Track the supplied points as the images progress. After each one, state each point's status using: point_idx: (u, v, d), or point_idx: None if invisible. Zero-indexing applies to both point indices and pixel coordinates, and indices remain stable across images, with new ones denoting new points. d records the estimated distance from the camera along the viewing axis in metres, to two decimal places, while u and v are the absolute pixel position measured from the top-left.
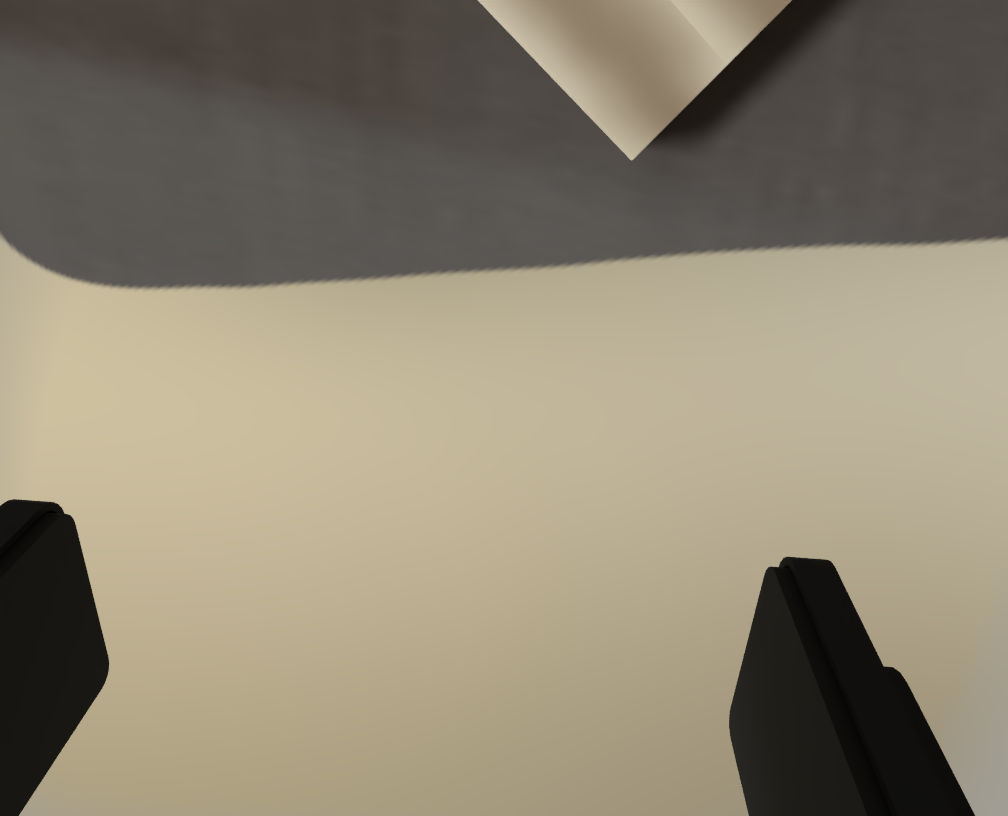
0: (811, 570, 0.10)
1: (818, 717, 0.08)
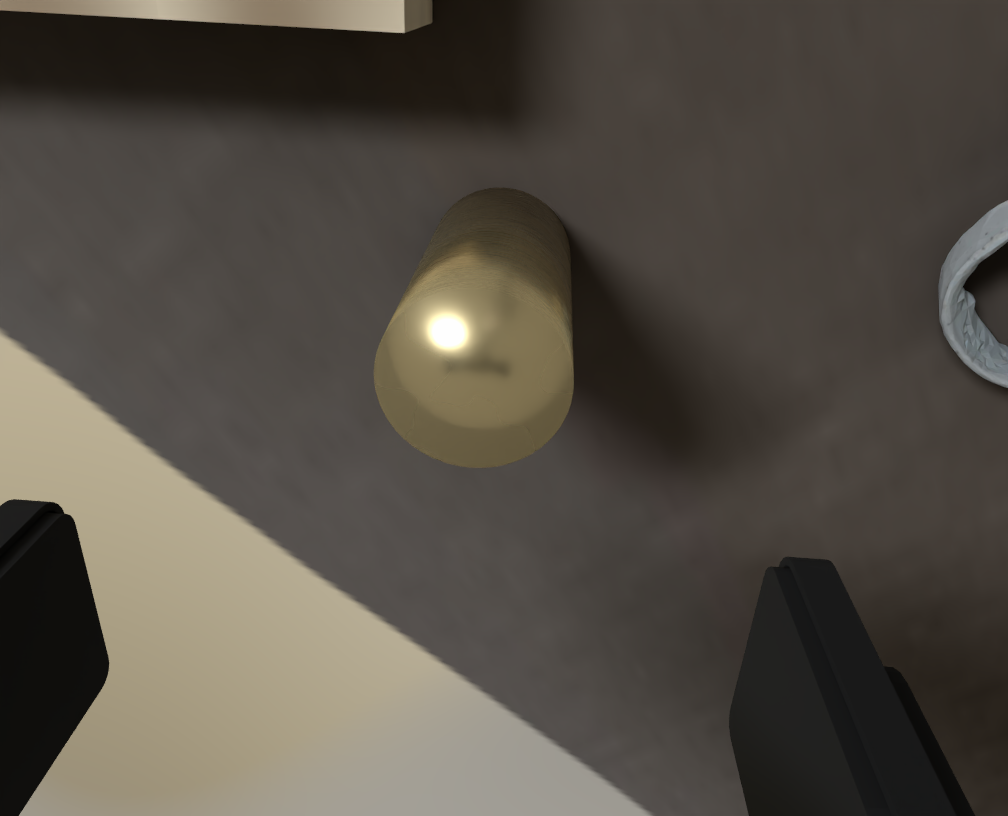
0: (811, 570, 0.10)
1: (818, 717, 0.08)
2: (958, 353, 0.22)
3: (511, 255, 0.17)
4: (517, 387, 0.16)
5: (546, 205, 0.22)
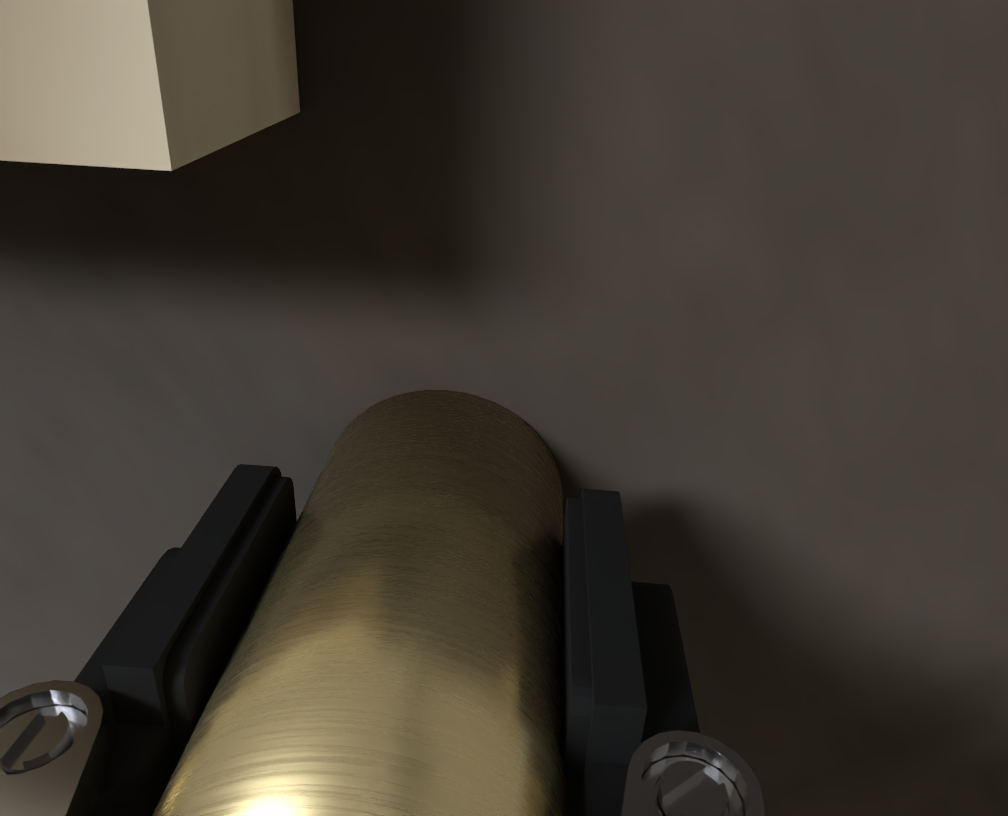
0: (597, 499, 0.11)
1: (568, 616, 0.09)
2: None
3: (425, 670, 0.07)
4: None
5: (520, 419, 0.13)
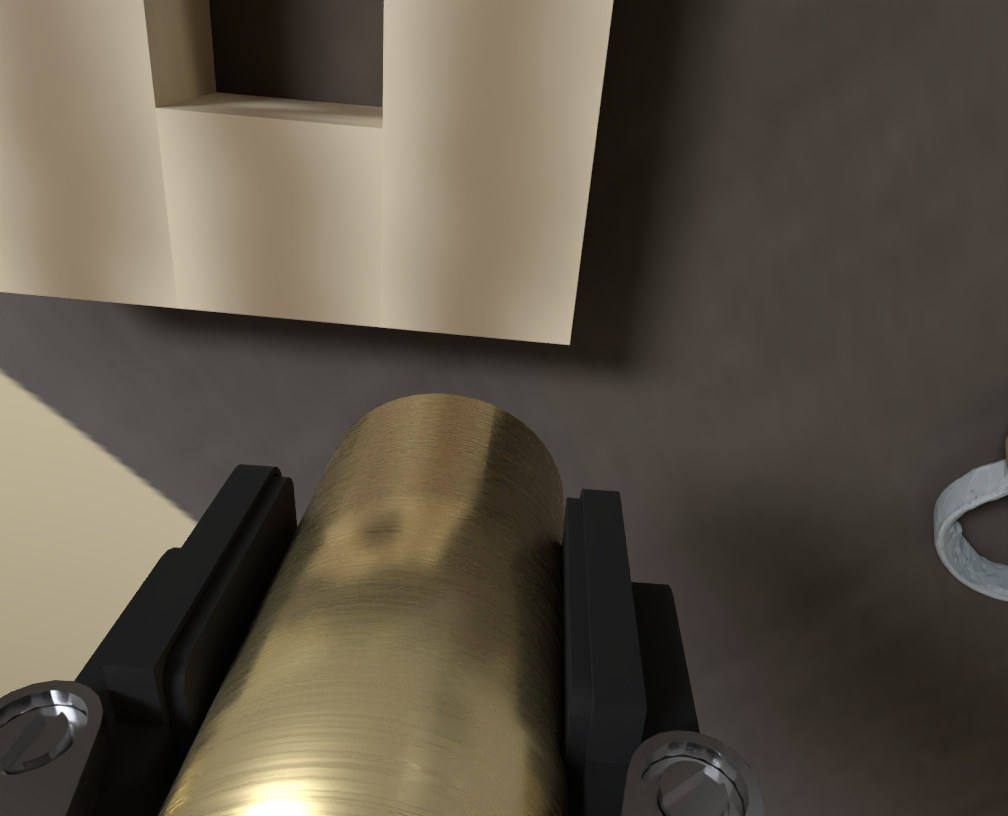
0: (598, 499, 0.11)
1: (568, 615, 0.09)
2: (948, 568, 0.28)
3: (429, 675, 0.07)
4: None
5: (521, 422, 0.13)
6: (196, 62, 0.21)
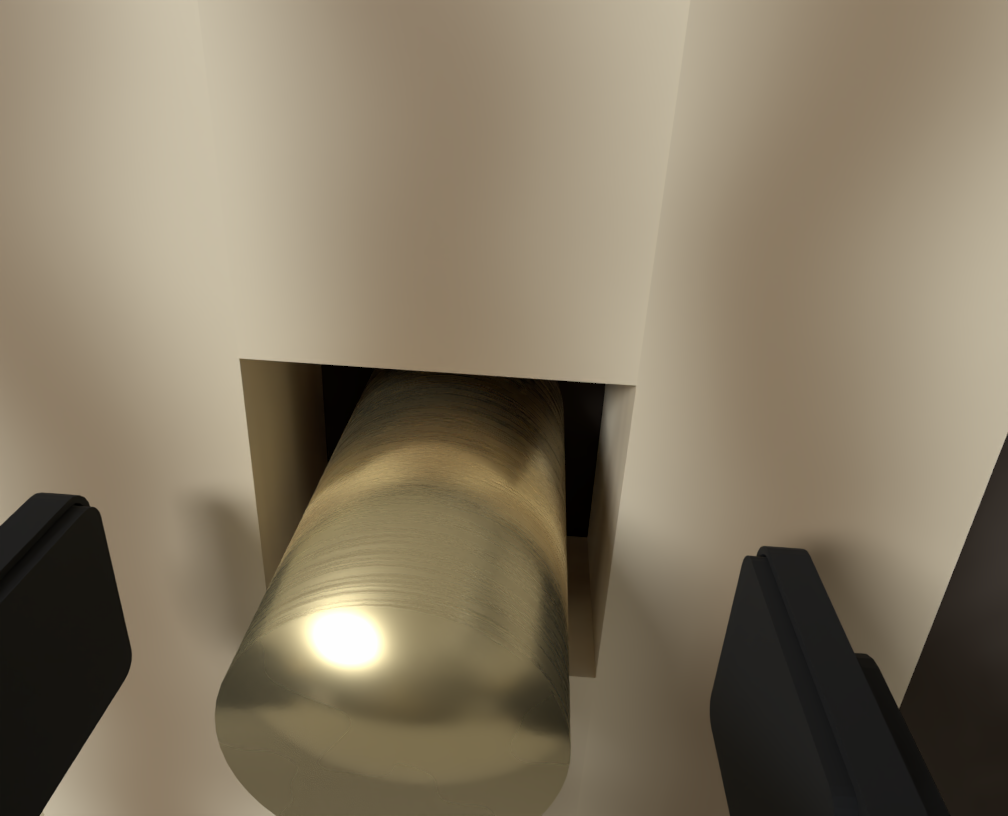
0: (787, 558, 0.10)
1: (789, 700, 0.08)
2: None
3: (464, 491, 0.10)
4: (470, 755, 0.09)
5: None
6: None
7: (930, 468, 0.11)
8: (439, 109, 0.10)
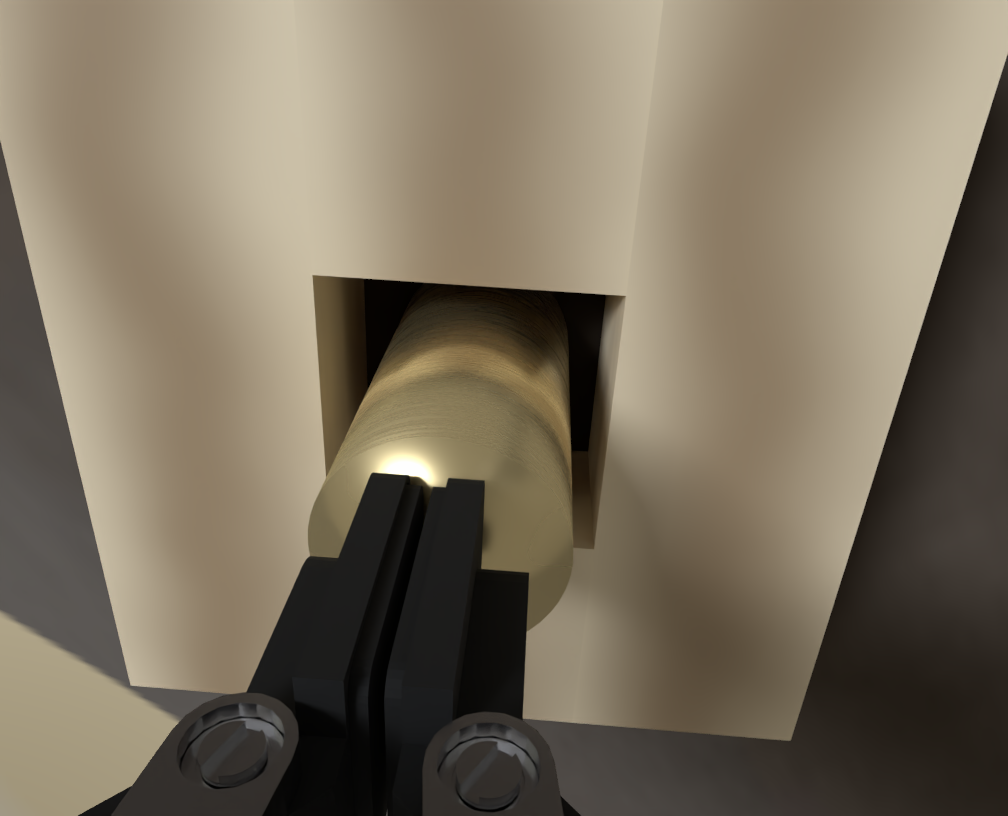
0: (460, 487, 0.11)
1: None
2: None
3: (491, 373, 0.13)
4: (498, 559, 0.12)
5: None
6: None
7: (859, 364, 0.14)
8: (474, 74, 0.12)
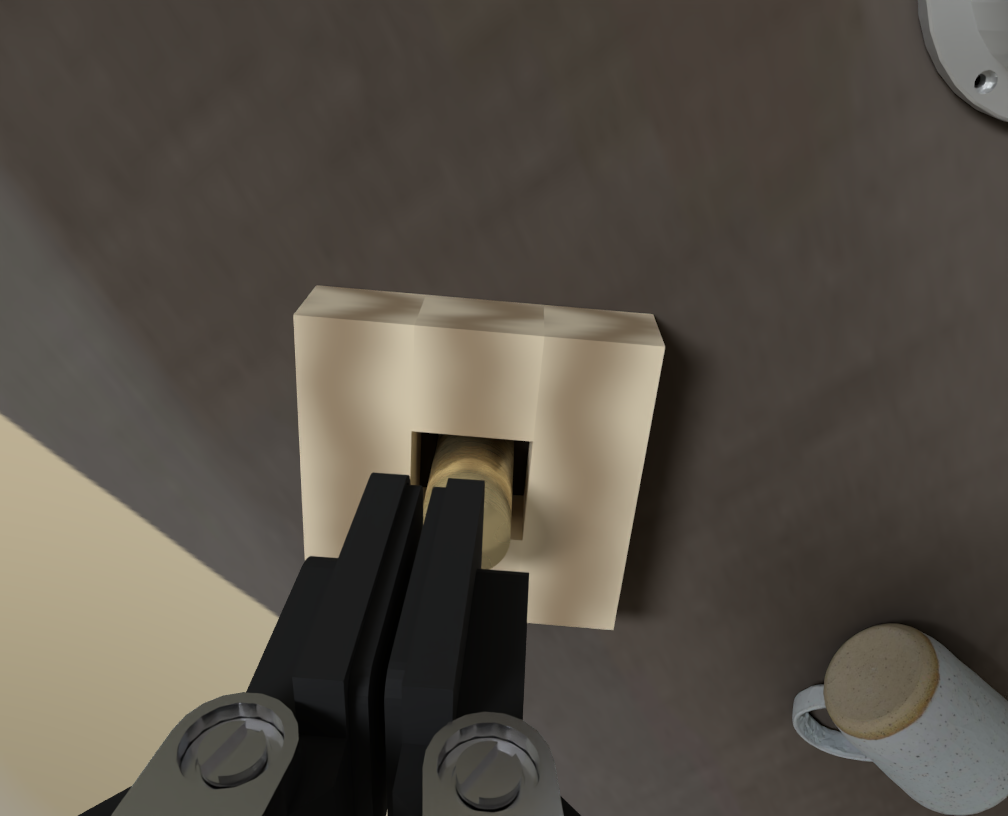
0: (460, 487, 0.11)
1: None
2: (802, 737, 0.48)
3: (481, 472, 0.35)
4: (484, 540, 0.34)
5: None
6: None
7: (624, 468, 0.37)
8: (477, 367, 0.35)
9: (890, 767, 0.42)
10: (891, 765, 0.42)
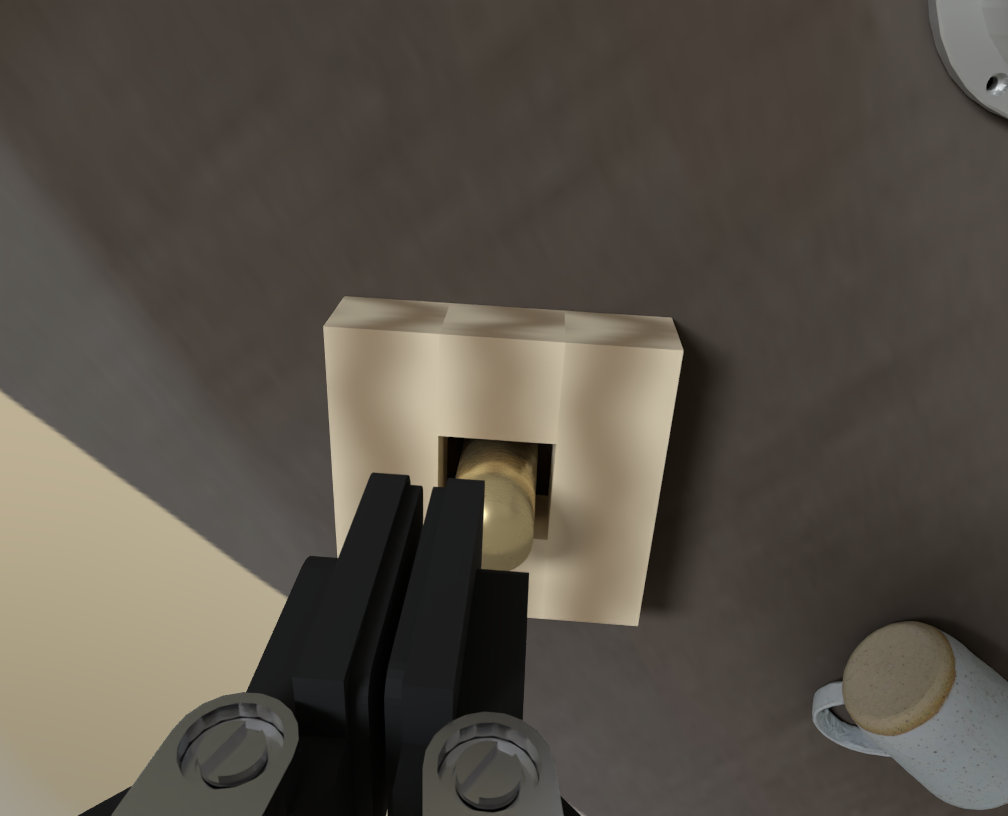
0: (460, 487, 0.11)
1: None
2: (822, 732, 0.49)
3: (505, 475, 0.36)
4: (508, 541, 0.35)
5: None
6: None
7: (645, 468, 0.38)
8: (500, 373, 0.36)
9: (908, 762, 0.43)
10: (909, 761, 0.42)
